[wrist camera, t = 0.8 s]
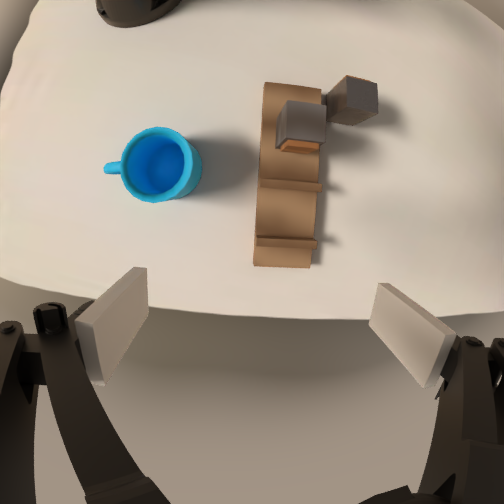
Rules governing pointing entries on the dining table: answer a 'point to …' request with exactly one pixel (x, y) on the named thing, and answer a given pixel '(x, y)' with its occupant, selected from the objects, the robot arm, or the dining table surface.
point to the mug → (158, 165)
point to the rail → (288, 175)
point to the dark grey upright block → (352, 101)
